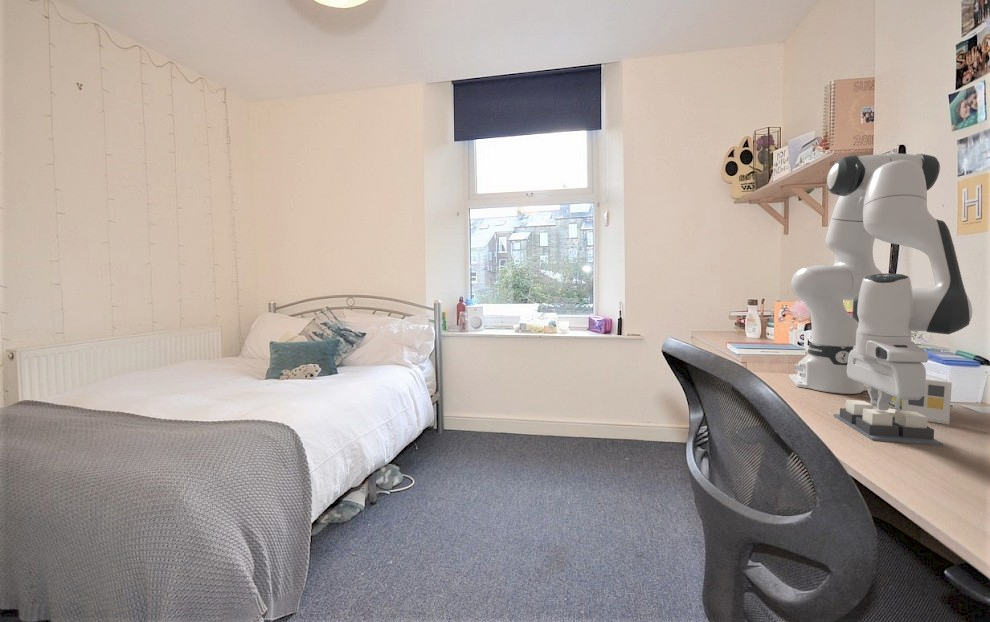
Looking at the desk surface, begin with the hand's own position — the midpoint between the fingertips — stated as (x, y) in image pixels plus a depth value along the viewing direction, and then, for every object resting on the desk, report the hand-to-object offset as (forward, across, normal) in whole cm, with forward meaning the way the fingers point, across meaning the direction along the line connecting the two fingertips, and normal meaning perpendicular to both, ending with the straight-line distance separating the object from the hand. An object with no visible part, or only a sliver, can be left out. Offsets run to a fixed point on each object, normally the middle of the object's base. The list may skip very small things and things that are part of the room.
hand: (879, 408), depth 90 cm
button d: (+4, 0, 0) cm, 4 cm away
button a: (+5, -7, +6) cm, 11 cm away
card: (+6, -14, +16) cm, 22 cm away
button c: (+4, -7, 0) cm, 8 cm away
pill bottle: (+6, -22, +17) cm, 28 cm away
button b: (+4, 0, +6) cm, 7 cm away
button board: (+6, -4, +3) cm, 8 cm away
